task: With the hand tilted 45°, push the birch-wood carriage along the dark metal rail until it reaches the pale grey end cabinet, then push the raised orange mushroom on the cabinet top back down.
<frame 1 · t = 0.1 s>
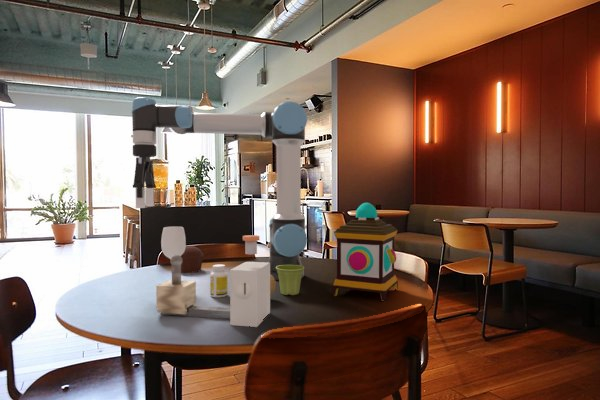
hand: (145, 207, 140), 28 cm above the table, tool pointing down, fingers open, 13 cm apart
rail track: (200, 315, 112), on the table
end cabinet: (251, 318, 109), on the table
potato: (254, 301, 126), on the table
plant pot: (289, 293, 135), on the table
muffin: (190, 271, 173), on the table
supplement bottle: (218, 296, 132), on the table
carriage: (176, 282, 113), point 9 cm above the table, slide at 0.0 cm
orange mushroom: (251, 244, 108), point 20 cm above the table, slide at 3.0 cm
decorative lantern: (366, 293, 136), on the table
wineglass: (173, 288, 143), on the table
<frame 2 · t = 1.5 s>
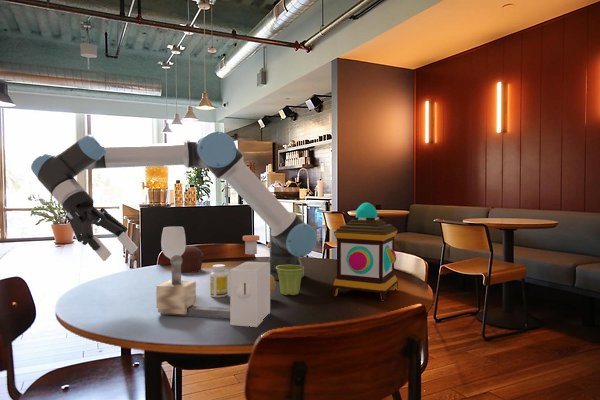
hand: (121, 254, 116), 16 cm above the table, tool tilted 45°, fingers open, 11 cm apart
nothing on the table moved.
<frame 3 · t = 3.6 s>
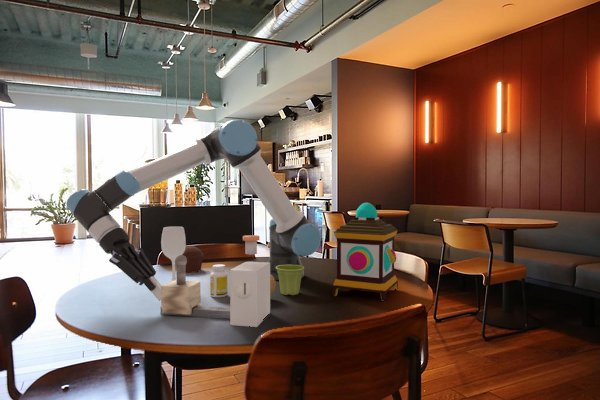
hand: (163, 297, 114), 4 cm above the table, tool tilted 45°, fingers closed
carriage: (181, 282, 113), point 9 cm above the table, slide at 1.4 cm, touching gripper
everything else where it was.
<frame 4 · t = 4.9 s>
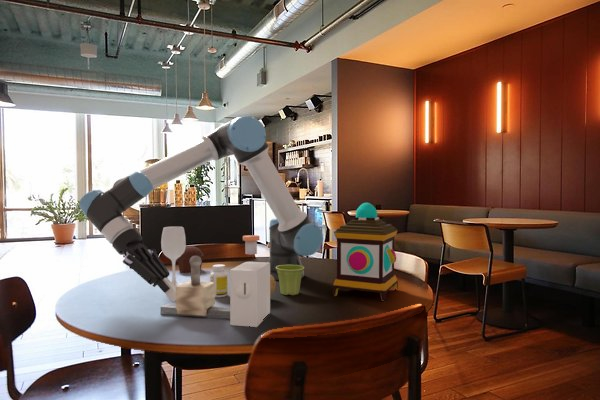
hand: (177, 298, 113), 4 cm above the table, tool tilted 45°, fingers closed
carriage: (195, 283, 112), point 9 cm above the table, slide at 5.7 cm, touching gripper
everything else where it was.
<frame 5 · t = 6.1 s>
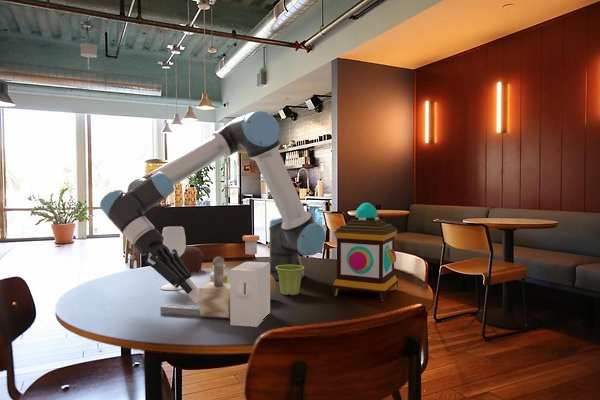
hand: (200, 299, 111), 4 cm above the table, tool tilted 45°, fingers closed
carriage: (218, 284, 110), point 9 cm above the table, slide at 12.4 cm, touching gripper
everything else where it was.
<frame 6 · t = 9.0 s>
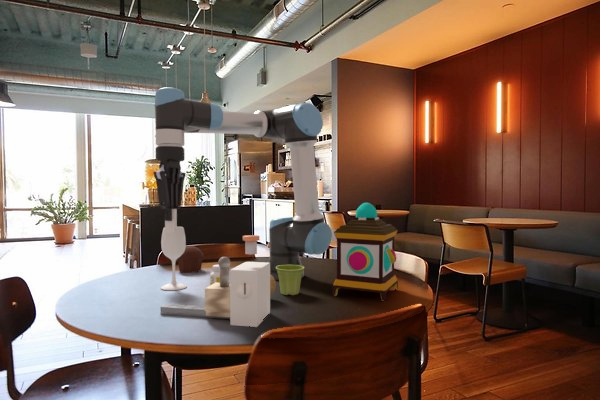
hand: (171, 232, 113), 22 cm above the table, tool pointing down, fingers closed
carriage: (224, 285, 110), point 9 cm above the table, slide at 14.0 cm, touching end cabinet
everything else where it was.
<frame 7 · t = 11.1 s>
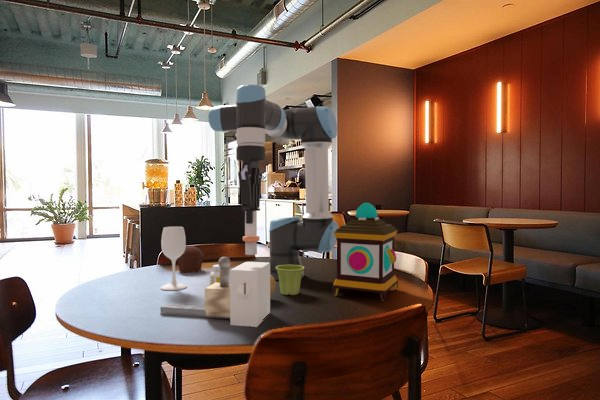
hand: (250, 235, 108), 22 cm above the table, tool pointing down, fingers closed
orange mushroom: (251, 245, 108), point 19 cm above the table, slide at 2.9 cm, touching gripper
everything else where it was.
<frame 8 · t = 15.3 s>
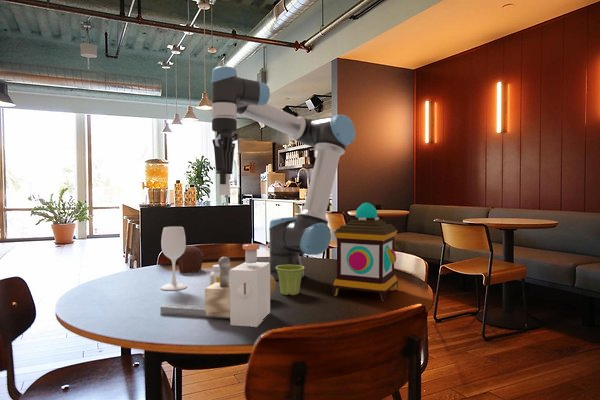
hand: (224, 195, 127), 32 cm above the table, tool pointing down, fingers closed
orange mushroom: (251, 253, 108), point 17 cm above the table, slide at 0.7 cm
everything else where it was.
at the end: carriage slide at 14.0 cm; orange mushroom slide at 0.7 cm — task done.
